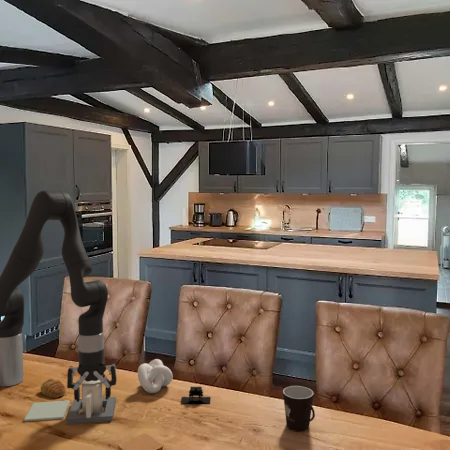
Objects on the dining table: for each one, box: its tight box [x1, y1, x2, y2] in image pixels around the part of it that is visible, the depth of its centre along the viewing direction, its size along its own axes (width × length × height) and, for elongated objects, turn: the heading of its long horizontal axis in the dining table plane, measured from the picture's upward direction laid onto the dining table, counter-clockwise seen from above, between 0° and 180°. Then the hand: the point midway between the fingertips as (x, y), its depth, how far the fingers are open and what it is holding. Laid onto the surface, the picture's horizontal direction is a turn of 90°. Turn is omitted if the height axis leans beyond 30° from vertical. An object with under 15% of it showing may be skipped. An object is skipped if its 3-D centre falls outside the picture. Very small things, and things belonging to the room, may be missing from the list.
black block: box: [180, 386, 212, 406], centre depth 151 cm, size 12×7×5 cm, turn 91°
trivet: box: [23, 400, 71, 422], centre depth 143 cm, size 11×11×1 cm
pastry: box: [40, 378, 66, 399], centre depth 156 cm, size 9×7×4 cm
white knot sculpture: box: [137, 358, 173, 394], centre depth 159 cm, size 11×12×9 cm
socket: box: [65, 396, 117, 425], centre depth 143 cm, size 13×13×2 cm
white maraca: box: [81, 380, 104, 418], centre depth 140 cm, size 12×6×9 cm, turn 9°
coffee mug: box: [282, 385, 316, 433], centre depth 132 cm, size 12×9×10 cm
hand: (92, 399), depth 142 cm, fingers open, 8 cm apart
